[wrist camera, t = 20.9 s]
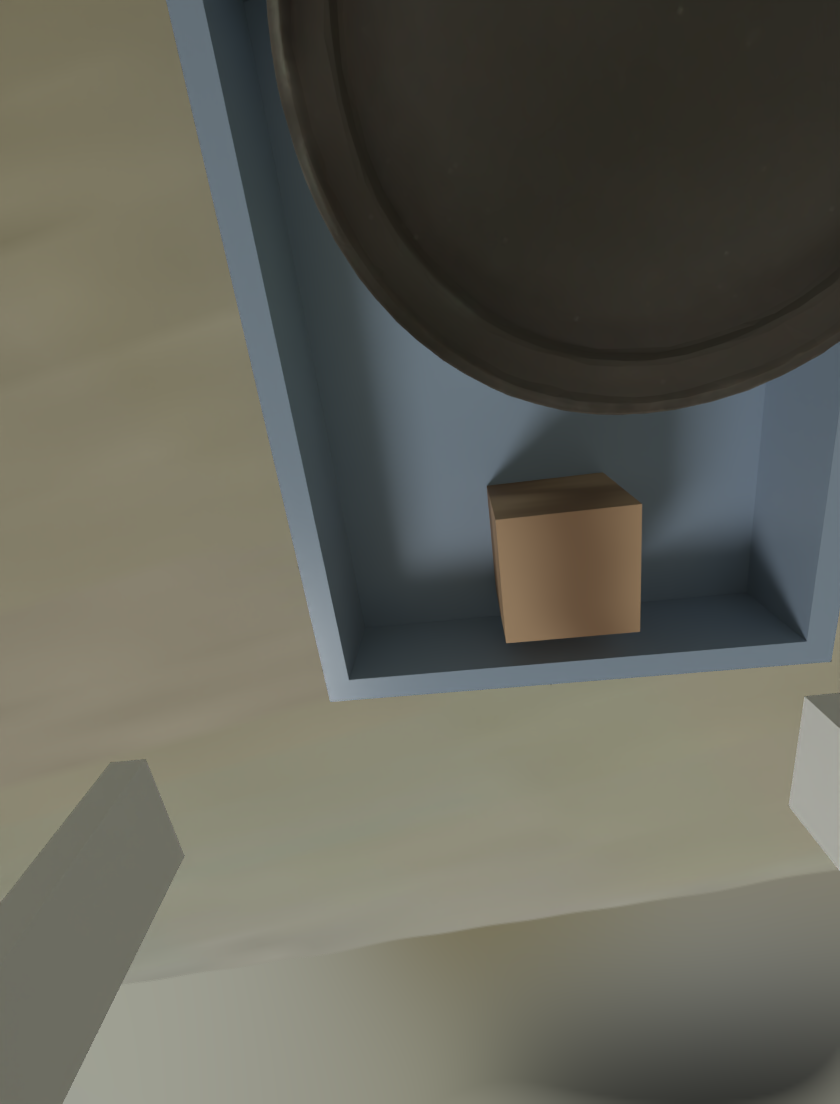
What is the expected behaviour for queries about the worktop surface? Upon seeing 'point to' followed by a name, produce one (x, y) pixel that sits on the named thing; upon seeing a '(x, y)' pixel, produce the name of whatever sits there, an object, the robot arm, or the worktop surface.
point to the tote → (488, 451)
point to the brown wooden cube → (566, 557)
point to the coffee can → (580, 184)
